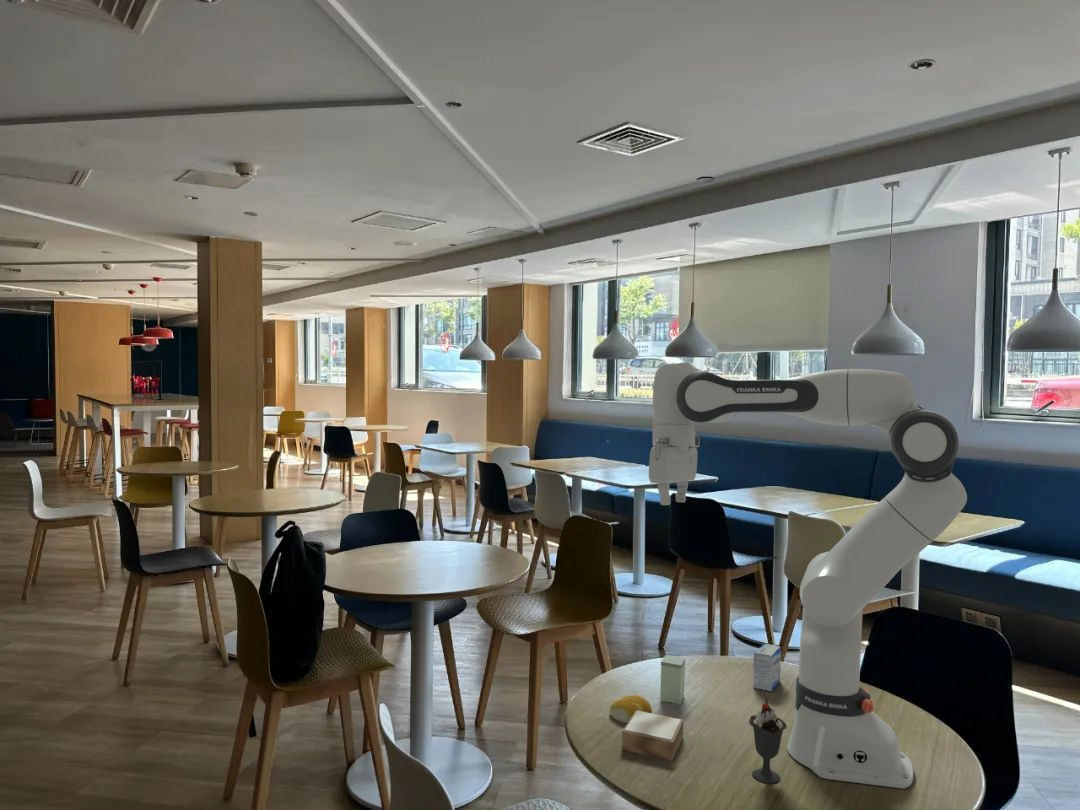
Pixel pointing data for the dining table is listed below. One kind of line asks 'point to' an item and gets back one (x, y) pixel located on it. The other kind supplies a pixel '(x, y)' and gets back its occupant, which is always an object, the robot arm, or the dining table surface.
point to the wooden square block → (652, 735)
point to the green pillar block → (672, 679)
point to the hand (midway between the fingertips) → (673, 503)
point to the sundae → (767, 741)
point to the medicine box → (766, 667)
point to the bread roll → (629, 707)
